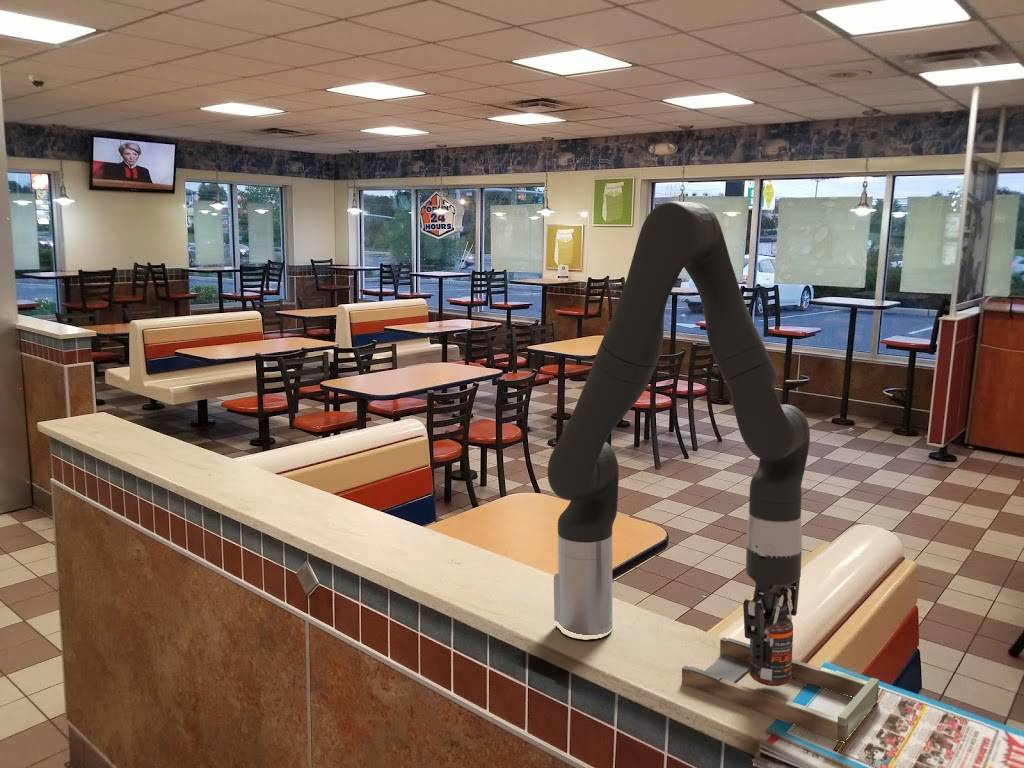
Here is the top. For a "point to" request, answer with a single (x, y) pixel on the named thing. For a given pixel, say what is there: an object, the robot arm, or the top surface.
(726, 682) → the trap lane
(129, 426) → the top surface
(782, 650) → the supplement bottle
